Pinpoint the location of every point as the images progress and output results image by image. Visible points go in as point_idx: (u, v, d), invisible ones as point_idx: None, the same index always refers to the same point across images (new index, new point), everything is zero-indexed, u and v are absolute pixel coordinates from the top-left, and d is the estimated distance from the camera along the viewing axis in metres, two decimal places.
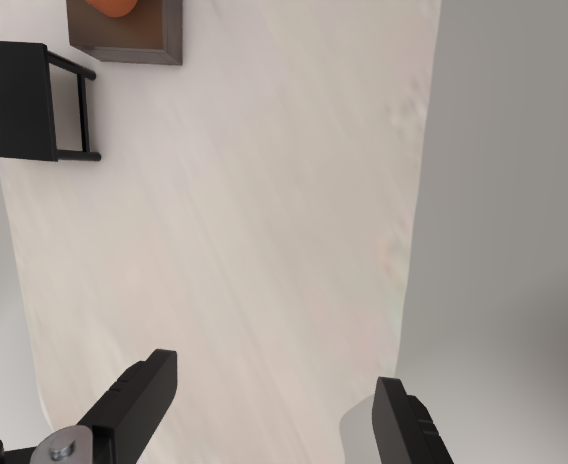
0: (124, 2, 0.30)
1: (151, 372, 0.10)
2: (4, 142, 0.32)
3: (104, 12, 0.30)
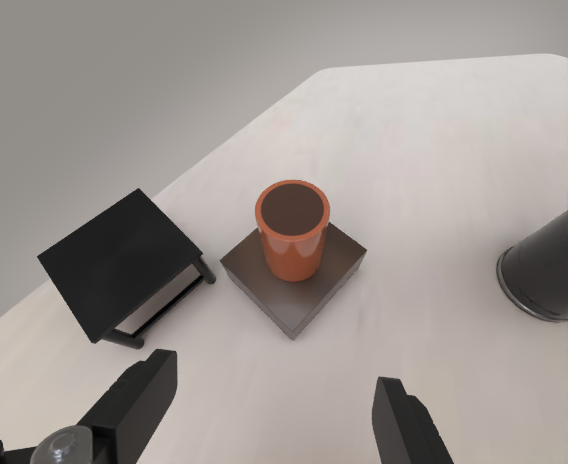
0: (293, 277, 0.29)
1: (151, 372, 0.10)
2: (79, 285, 0.27)
3: (269, 267, 0.30)
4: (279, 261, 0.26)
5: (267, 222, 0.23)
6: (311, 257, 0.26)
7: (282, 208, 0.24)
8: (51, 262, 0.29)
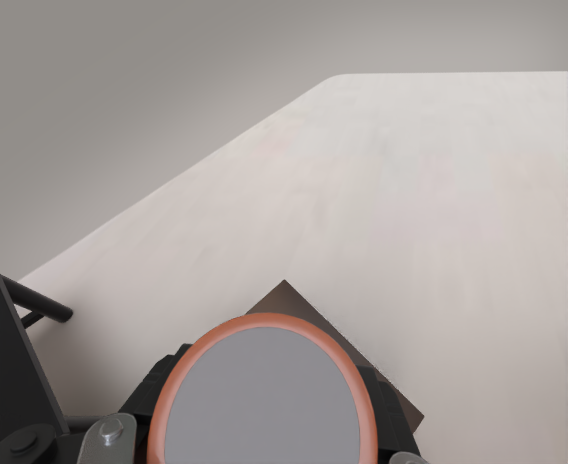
0: None
1: None
2: None
3: None
4: None
5: None
6: None
7: (233, 420, 0.08)
8: None
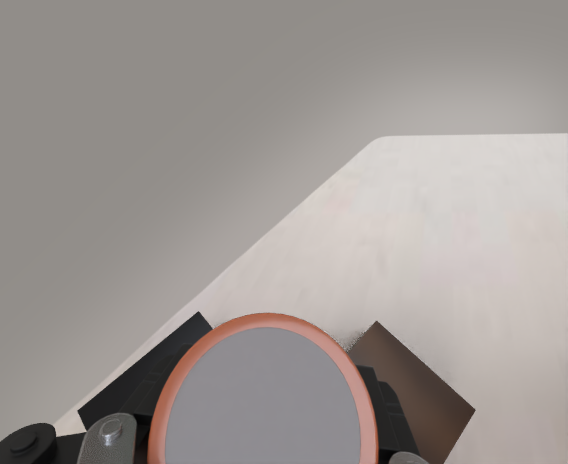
0: None
1: None
2: None
3: None
4: None
5: None
6: None
7: (233, 421, 0.08)
8: (95, 422, 0.23)
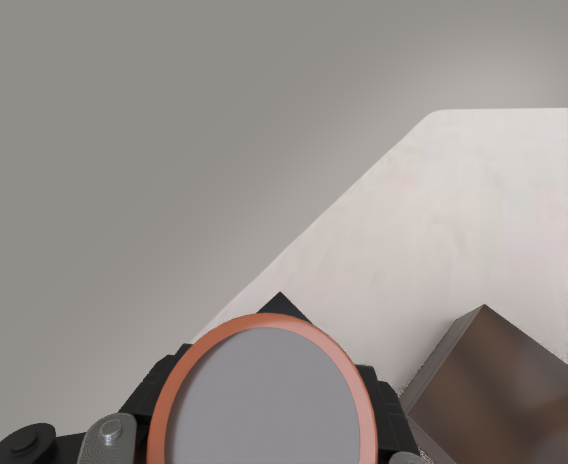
0: None
1: None
2: None
3: None
4: None
5: None
6: None
7: (232, 421, 0.08)
8: None
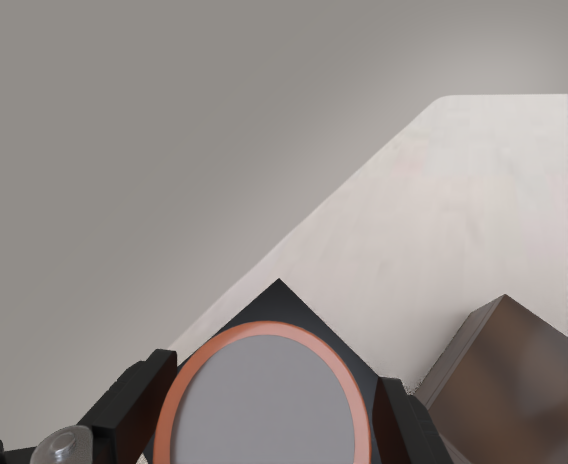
0: None
1: (151, 372, 0.10)
2: None
3: None
4: None
5: None
6: None
7: (234, 425, 0.08)
8: None
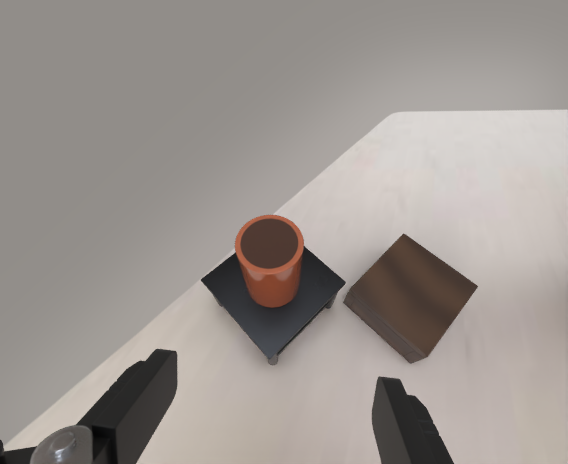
0: (270, 303, 0.30)
1: (151, 372, 0.10)
2: (245, 308, 0.32)
3: (249, 293, 0.32)
4: (256, 289, 0.28)
5: (245, 254, 0.25)
6: (286, 287, 0.28)
7: (260, 241, 0.26)
8: (215, 285, 0.33)
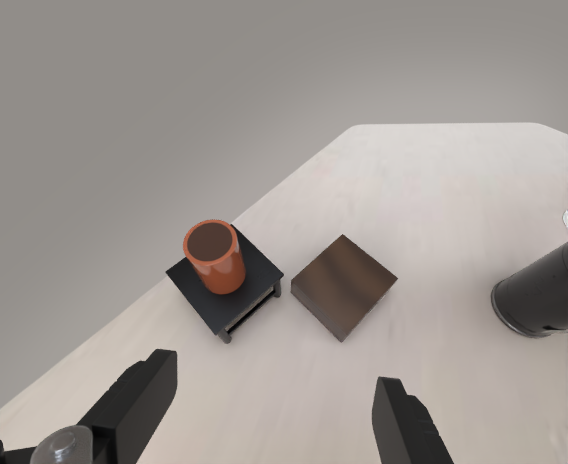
0: (218, 290, 0.38)
1: (151, 372, 0.10)
2: (200, 294, 0.39)
3: None
4: (203, 278, 0.35)
5: (189, 250, 0.32)
6: (227, 276, 0.35)
7: (203, 240, 0.33)
8: (176, 276, 0.40)
